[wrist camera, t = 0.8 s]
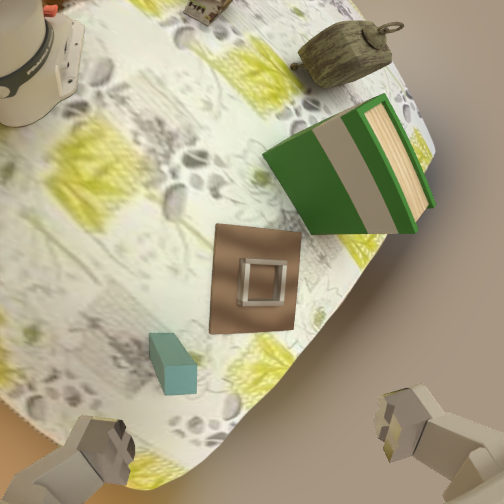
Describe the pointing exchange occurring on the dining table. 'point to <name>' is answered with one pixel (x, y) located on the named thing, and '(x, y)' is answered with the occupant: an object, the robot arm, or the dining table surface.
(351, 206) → the hardback book
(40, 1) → the robot arm
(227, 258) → the socket board
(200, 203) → the dining table surface
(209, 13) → the coffee box
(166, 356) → the teal post
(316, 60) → the tabletop clock
